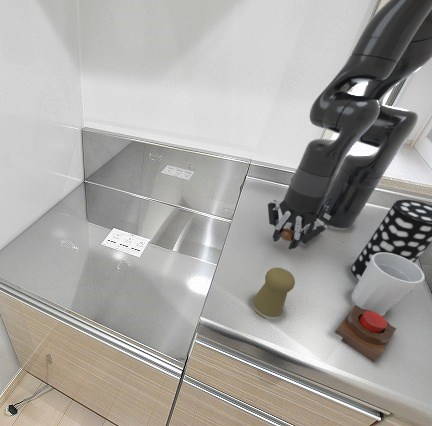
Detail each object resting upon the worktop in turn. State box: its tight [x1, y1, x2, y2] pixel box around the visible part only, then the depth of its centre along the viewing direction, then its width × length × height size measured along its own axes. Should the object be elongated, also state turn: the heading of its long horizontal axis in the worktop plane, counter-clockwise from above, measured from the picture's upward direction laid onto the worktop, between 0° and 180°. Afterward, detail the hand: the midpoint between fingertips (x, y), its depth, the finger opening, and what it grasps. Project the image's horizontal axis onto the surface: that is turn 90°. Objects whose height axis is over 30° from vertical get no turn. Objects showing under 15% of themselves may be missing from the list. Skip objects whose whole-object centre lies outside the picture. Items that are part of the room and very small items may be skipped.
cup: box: [351, 252, 425, 317], centre depth 60 cm, size 8×8×12 cm
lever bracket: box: [290, 197, 332, 245], centre depth 79 cm, size 8×6×13 cm
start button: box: [359, 311, 388, 333], centre depth 56 cm, size 4×4×2 cm
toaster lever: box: [280, 224, 295, 242], centre depth 75 cm, size 15×3×3 cm, turn 128°
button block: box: [334, 304, 397, 363], centre depth 57 cm, size 9×7×4 cm
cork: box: [252, 267, 296, 320], centre depth 61 cm, size 6×6×11 cm
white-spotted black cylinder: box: [350, 199, 432, 281], centre depth 64 cm, size 8×8×20 cm
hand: (283, 243), depth 76 cm, fingers closed on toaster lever, 3 cm apart
